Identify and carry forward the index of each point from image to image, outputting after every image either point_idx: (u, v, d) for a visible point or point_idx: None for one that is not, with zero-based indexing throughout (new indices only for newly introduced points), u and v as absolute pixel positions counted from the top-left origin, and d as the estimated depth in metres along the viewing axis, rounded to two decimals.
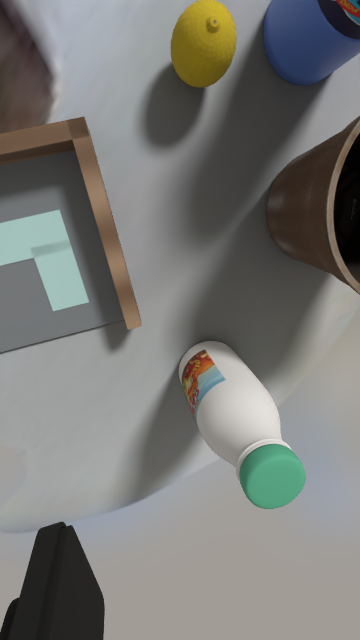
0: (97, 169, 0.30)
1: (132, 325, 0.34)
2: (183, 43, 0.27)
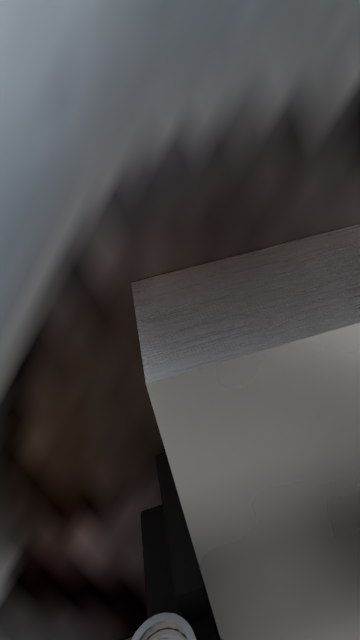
0: None
1: None
2: None
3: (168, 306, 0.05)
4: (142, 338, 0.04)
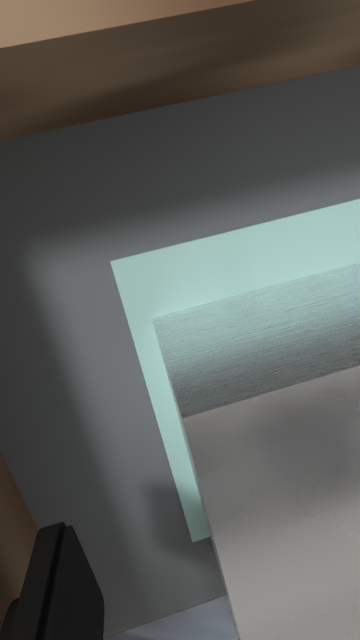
0: None
1: None
2: None
3: (187, 349, 0.07)
4: (172, 379, 0.06)
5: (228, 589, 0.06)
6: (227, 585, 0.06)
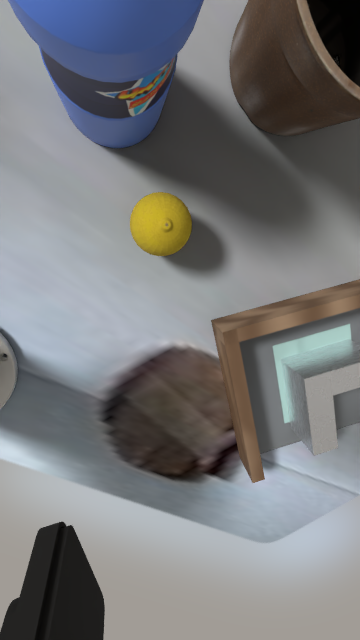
0: (262, 322, 0.34)
1: None
2: (173, 250, 0.29)
3: (297, 368, 0.37)
4: (298, 373, 0.36)
5: (308, 408, 0.36)
6: (307, 408, 0.36)
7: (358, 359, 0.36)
